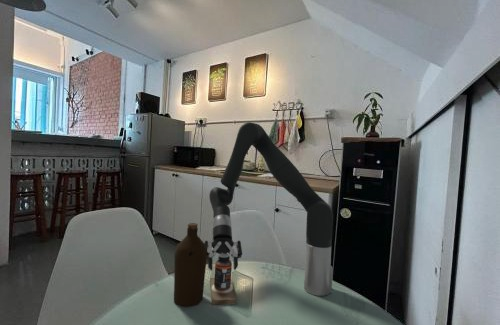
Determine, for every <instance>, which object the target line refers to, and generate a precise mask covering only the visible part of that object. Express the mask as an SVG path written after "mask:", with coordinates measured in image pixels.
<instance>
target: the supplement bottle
mask: <svg viewBox="0 0 500 325" xmlns="http://www.w3.org/2000/svg"><path fill="white" fill-rule="evenodd" d="M230 257H231V256H230V255H229V254H228V253H227V254H223V253H222V254H218V259H217V260H216V261H215V266H214V277H213V278H214V287H215V288H216V289H217V290H227V289H229V288H230V285H231V280H232V269H233V261H231V260H230Z"/></svg>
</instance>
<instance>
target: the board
mask: <svg viewBox="0 0 500 325" xmlns="http://www.w3.org/2000/svg"><path fill="white" fill-rule="evenodd" d="M214 278H215V277H210V278H209V286H210V300H211V306H220V305H221V306H222V305H225V306H226V305H236V304H237V300H238V298H237V294H236V291H235V288H234V284H233V281H232V279H231V285H230V288H229V289H227V290H217V289H216V288H215V287H214Z"/></svg>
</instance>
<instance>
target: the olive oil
mask: <svg viewBox="0 0 500 325" xmlns="http://www.w3.org/2000/svg"><path fill="white" fill-rule="evenodd" d="M186 230H187V231H186V235H185V237H184V238H183V239H182V240H181V241H180V242H179V243H178V244H177V246H175V247H176V248H175V250H174V259H173V260H174V263H173V264H174V265H173V266H174V272H173V273H174V274H173V276H174V278H173V280H174V281H173V282H174V284H173V303H174V304H175V305H177V306H178V307H182V308H190V307H195V306H198V305H199V304H201V303H202V301H203V300H204V288H205V278H206V277H205V276H206V269H207V268H206V266H207V261H208V259H207V254H208V248H206V245H205V241H203V240H202V239H201V238H200V236H199V235H198V223H197V222H195V223H194V222H189V223H188V224H187V229H186Z"/></svg>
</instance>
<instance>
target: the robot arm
mask: <svg viewBox="0 0 500 325" xmlns="http://www.w3.org/2000/svg"><path fill="white" fill-rule="evenodd" d="M252 146H253V148H255V149H256V151H258V152H259V154H260V155H261V156H262V157H263V160H264V162H265V164H266V166H267V168H268V170H269V172H270V173H271V175H272V176H273V178H274V179H275V180H276V181H277V183H278V184H279V185H280V186H281V187H282V188H283V189H285V190H286V191H287V192H288V193H290V194H291V195H292V196H293V197H294V198H295V199H296V200H297V202H298V203H300V205H301V206H302V207H303V209H304V210H305V212H306V231H305V238H306V241H305V262H304V279H303V281H304V282H303V285H304V287H303V289H304V290H305V292H307V293H309V295H313V296H320V297H321V296H322V297H323V296H327V295H329V294H332V292H333V275H334V274H333V272H334V271H333V270H334V267H333V266H332V265H331V264H332V263H331V262H332V240H333V229H334V228H333V225H334V214H333V209H332V207H331V205H329V203H328V202H327V201H325V200H324V199H323V198H322V197H321V196H320V195H319V194H317V192H316V191H315V190H314V189H313V188H312V187H311V186H310V185H309V183H308V181H307V180H306V179H305V177H304V176H303V175H302V173H301V172H300V171H299V169H298V168H297V167H296V166H295V165H294V163H293V162H292V161H291V160H290V159H289V158H288V157H287V156H286V155H285V153H283V151H282V150H281V149H280V148H279V147H278V146H276V144H275V143H274V142H273V141H272V138H270V136H269V135H268V134H267V132H266V130H265V129H264V128H263V127H262V126H261V125H260V124H258V123H255V122H249V121H247V122H244V123H243V124H241V125H240V127H239V129H238V132H237V134H236V139H235V143H234V146H233V148H232V152H231V155H230V157H229V160H228V163H227V166H226V167H225V170H224V172H223V173H222V176H221V178H220V183H221V184H222V185H223V186H224V187H225V188H223V187H222V188H221V187H218V186H217V187H213V188H211V190H210V192H209V201H210V205H211V209H212V211H213V221H212V241H208V240H205V241H204V244H205V245H206V248H207V249H210V247H212V250H211V252H210V253H207V261H208V262H207V268H208V269H209V271H213V258H214V257H215V256H216V255H219V254H229V255H230V257H231V258H232V260H233V261H232V267H233V270H234V271H235V270H237V268H238V267H239V262H238V261H239V260H238V259H241V258H242V256H243V248H242V243H241V240H237V241H233V233H232V232H233V231H232V228H233V227H232V220H231V209H230V206H229V205H231V204H232V202H233V200H234V195H235V190H236V189H235V188H236V186H237V183H238V181H239V179H240V177H241V175H242V172H243V167H244V163H245V159H246V156H247V154H248V151H249V150H250V149H251V147H252ZM226 188H227V189H226ZM233 247H235V248H236V251H235V250H234V248H233Z"/></svg>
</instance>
